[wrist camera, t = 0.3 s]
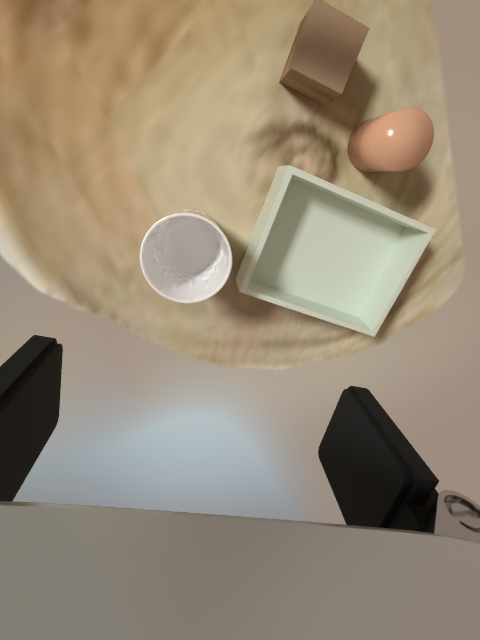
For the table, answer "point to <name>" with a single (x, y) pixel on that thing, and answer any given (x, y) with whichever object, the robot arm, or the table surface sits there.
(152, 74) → the table surface
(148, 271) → the white cup
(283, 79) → the cube
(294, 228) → the tote
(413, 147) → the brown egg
